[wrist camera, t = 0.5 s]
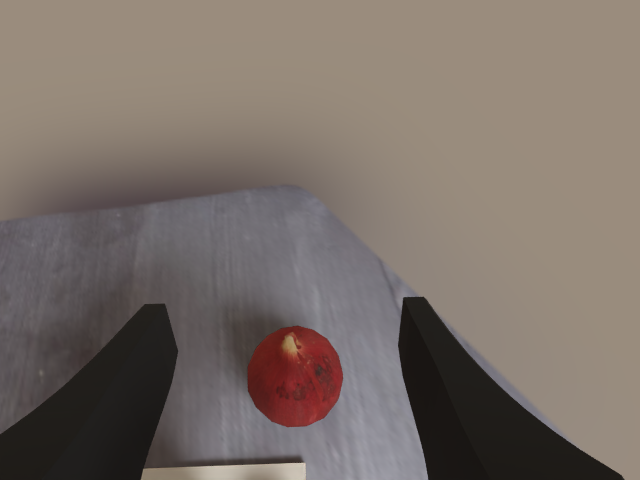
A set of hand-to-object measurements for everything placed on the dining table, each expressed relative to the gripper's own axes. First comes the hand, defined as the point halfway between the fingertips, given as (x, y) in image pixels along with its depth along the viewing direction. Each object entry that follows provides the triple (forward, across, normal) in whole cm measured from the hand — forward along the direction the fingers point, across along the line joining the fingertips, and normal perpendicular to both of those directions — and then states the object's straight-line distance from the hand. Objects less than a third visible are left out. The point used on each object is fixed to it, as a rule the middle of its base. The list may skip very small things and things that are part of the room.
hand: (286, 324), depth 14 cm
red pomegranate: (+10, +1, +16) cm, 19 cm away
